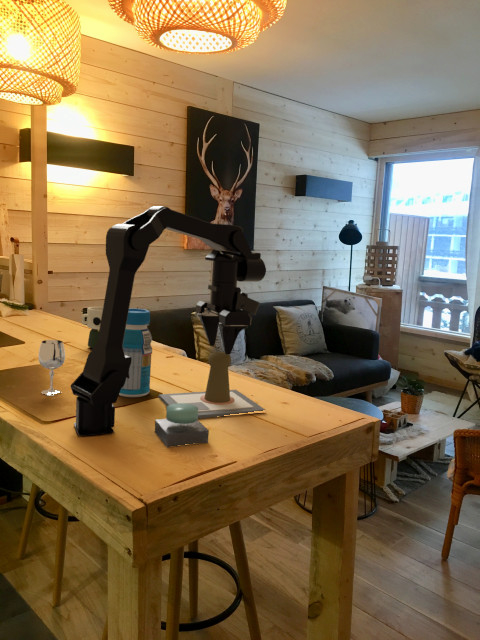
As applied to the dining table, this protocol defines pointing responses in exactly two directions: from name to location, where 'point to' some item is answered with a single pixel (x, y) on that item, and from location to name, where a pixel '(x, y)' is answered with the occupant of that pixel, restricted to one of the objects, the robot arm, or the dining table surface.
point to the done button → (182, 413)
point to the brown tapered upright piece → (218, 378)
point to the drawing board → (213, 403)
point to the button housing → (181, 432)
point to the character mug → (93, 323)
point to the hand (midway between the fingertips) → (219, 349)
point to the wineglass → (51, 359)
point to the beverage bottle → (137, 353)
